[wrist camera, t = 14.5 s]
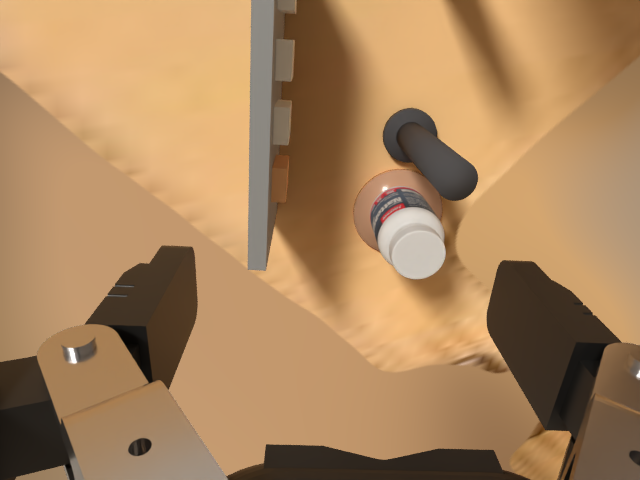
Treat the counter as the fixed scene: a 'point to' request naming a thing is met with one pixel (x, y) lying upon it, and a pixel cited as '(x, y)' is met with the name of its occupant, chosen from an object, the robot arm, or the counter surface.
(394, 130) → the post
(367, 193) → the coaster
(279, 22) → the panel
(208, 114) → the counter surface
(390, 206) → the pill bottle
